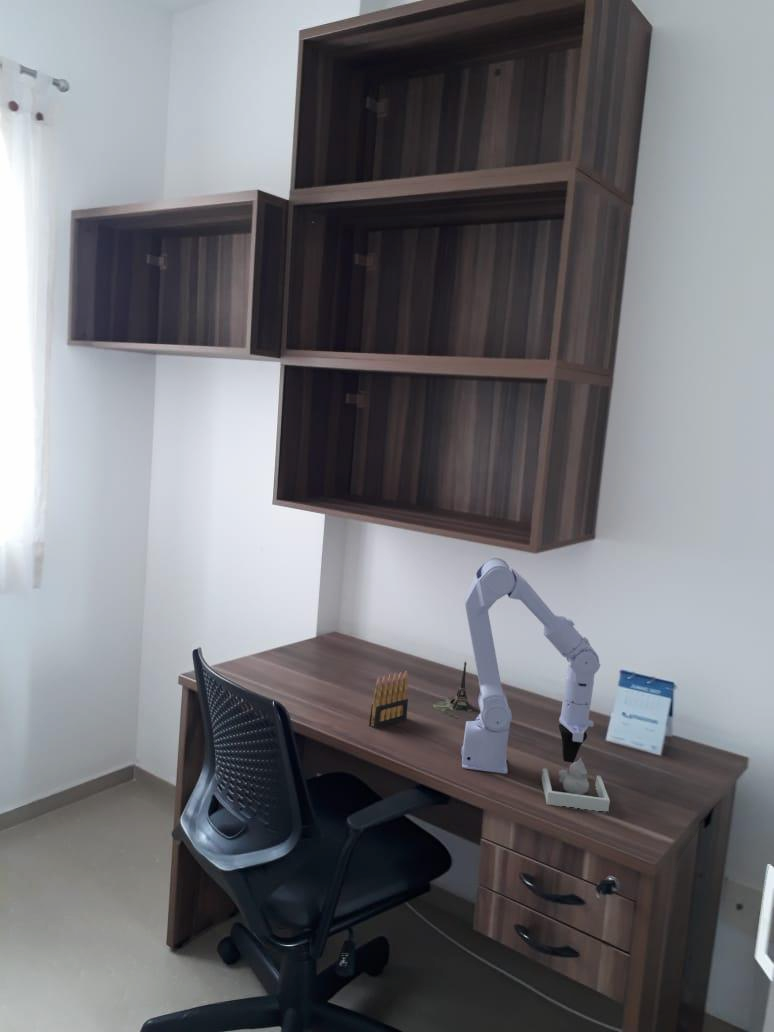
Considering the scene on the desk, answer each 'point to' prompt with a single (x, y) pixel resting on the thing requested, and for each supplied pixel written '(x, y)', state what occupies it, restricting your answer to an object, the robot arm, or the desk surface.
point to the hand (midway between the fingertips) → (568, 760)
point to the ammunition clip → (389, 701)
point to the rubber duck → (575, 778)
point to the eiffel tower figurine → (455, 699)
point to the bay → (576, 796)
